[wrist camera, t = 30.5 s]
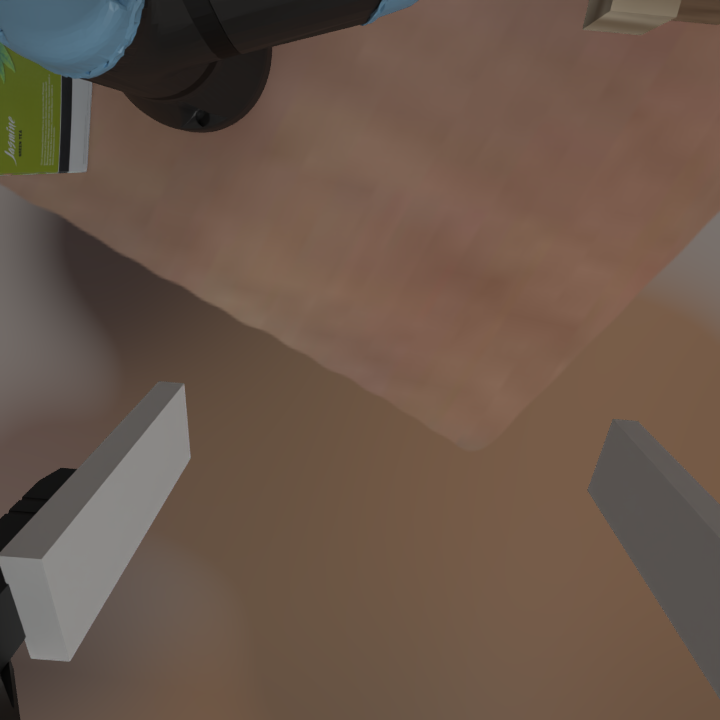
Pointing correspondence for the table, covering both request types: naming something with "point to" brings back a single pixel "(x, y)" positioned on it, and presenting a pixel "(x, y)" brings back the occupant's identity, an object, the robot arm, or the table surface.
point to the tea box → (41, 118)
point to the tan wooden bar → (629, 15)
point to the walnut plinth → (699, 11)
